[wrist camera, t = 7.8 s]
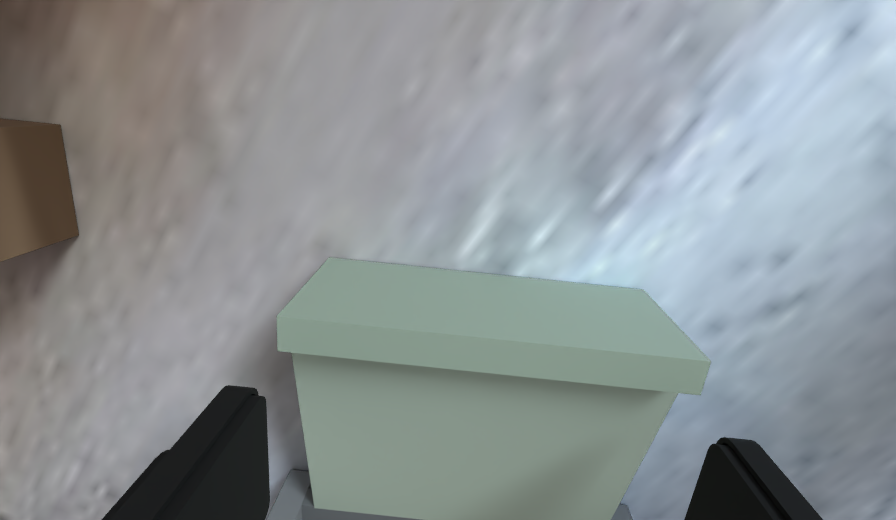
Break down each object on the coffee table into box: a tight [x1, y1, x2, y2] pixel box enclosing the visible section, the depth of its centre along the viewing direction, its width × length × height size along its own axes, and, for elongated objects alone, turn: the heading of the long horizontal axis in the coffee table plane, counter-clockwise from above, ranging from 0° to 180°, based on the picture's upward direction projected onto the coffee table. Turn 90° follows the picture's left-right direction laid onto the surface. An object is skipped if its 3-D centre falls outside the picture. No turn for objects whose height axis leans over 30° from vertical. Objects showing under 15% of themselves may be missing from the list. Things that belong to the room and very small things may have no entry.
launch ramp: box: [277, 257, 711, 520], centre depth 12 cm, size 9×8×4 cm
